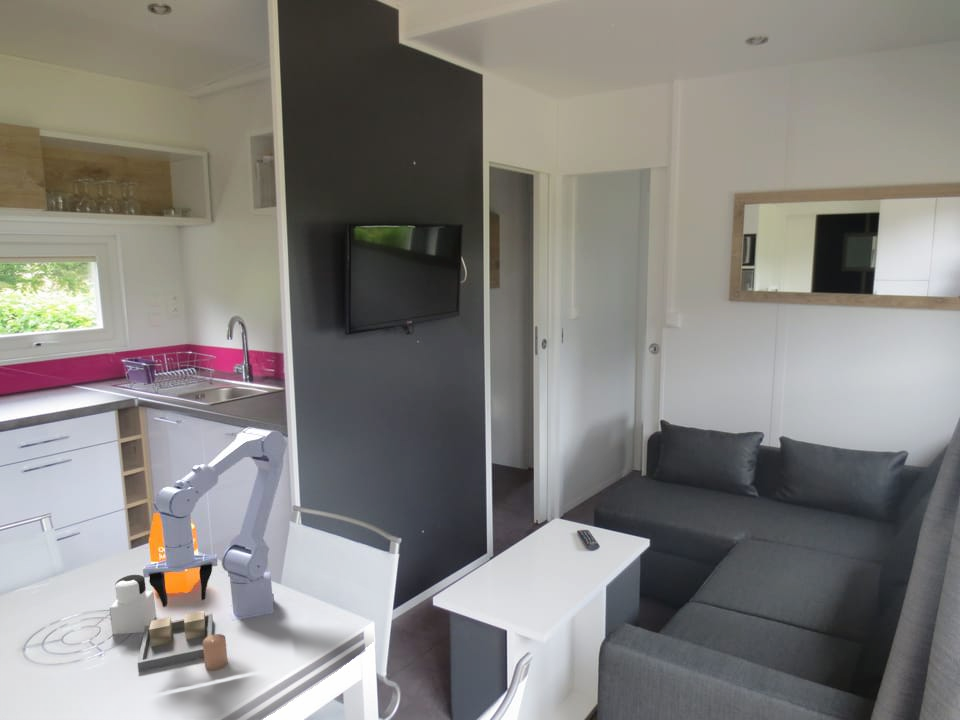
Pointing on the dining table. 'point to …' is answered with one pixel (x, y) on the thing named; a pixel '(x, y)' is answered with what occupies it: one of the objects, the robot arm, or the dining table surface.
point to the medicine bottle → (132, 606)
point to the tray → (173, 647)
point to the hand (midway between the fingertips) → (184, 601)
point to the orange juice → (157, 553)
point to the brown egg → (215, 652)
